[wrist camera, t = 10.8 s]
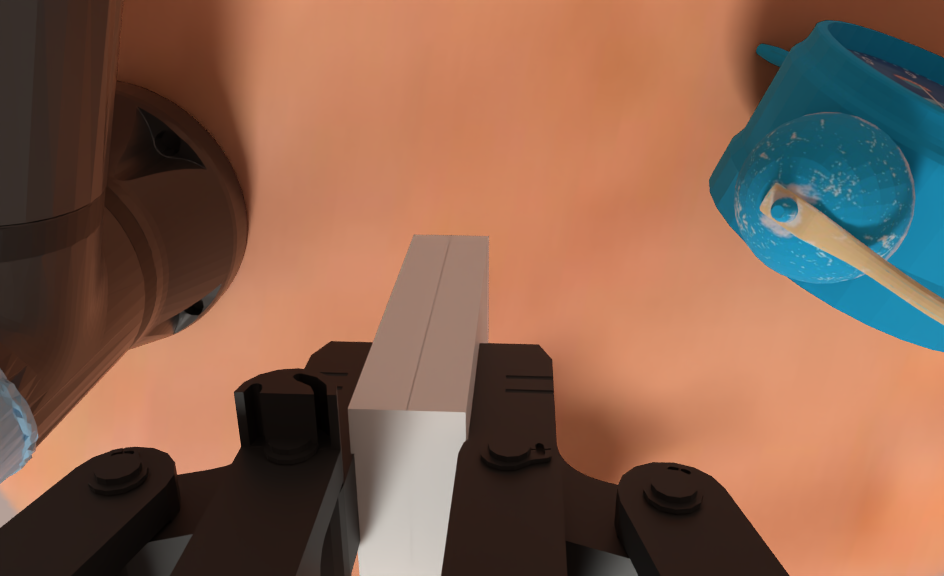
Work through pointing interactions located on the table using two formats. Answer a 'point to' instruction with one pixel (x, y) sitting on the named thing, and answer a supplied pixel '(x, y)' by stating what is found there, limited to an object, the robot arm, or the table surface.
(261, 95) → the table surface
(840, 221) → the alarm clock
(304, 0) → the table surface
